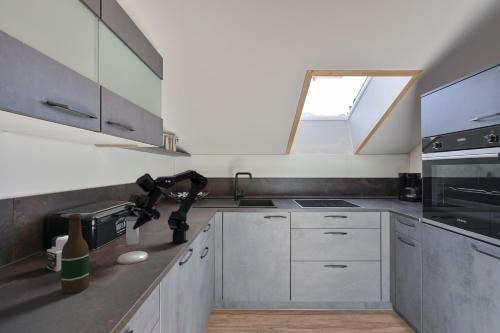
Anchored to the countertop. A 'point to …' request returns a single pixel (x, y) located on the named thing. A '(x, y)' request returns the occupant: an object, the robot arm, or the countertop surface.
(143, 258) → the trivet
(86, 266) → the beer bottle
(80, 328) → the countertop surface
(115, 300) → the countertop surface
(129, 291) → the countertop surface
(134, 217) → the grey-topped white cylinder
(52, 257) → the medicine bottle
